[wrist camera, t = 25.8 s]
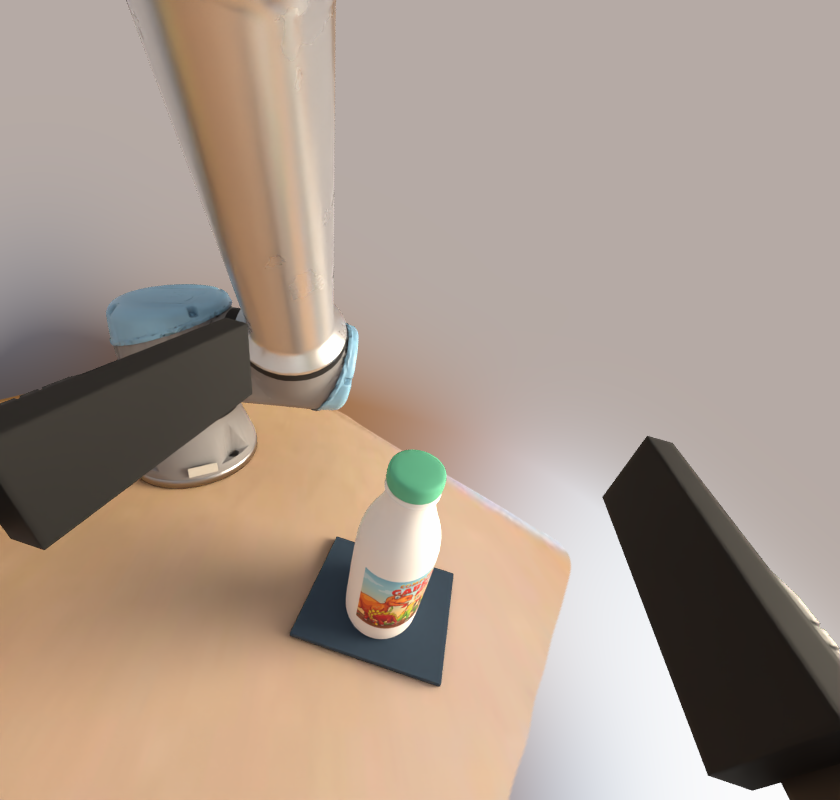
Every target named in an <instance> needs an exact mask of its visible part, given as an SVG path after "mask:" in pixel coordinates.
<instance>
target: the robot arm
mask: <svg viewBox="0 0 840 800" xmlns="http://www.w3.org/2000/svg"><path fill="white" fill-rule="evenodd" d="M126 1H127V4H128V7H129V9H130V12H131V15H132V17H133V20H134V23H135V25H136V28H137V31H138V33H139V36H140V39H141V42H142V44H143V47H144V50H145V52H146V55H147V58H148V60H149V63H150V66H151V68H152V71H153V73H154V76H155V79H156V82H157V84H158V87H159V90H160V93H161V95H162V98H163V101H164V103H165V105H166V109H167V111H168V114H169V117H170V119H171V122H172V124H173V127H174V130H175V133H176V136H177V138H178V141H179V144H180V146H181V149H182V151H183V154H184V157H185V160H186V162H187V165H188V168H189V170H190V173H191V176H192V178H193V181H194V184H195V187H196V189H197V192H198V195H199V197H200V200H201V203H202V205H203V208H204V211H205V213H206V216H207V219H208V221H209V224H210V227H211V230H212V232H213V235H214V238H215V240H216V243H217V246H218V248H219V251H220V253H221V256H222V259H223V262H224V264H225V267H226V269H227V272H228V275H229V278H230V281H231V283H232V286H233V288H234V291H235V294H236V297H237V299H238V302H239V305H240V307H241V309H240V308H234V307H232V306H231V305H232V300H231V299H230V297H229V295H228V293H226V292H225V291H224V290H222V289H218V288H216V287H212V286H206V285H195V284H194V285H193V284H181V285H180V284H179V285H164V286H155V287H148V288H143V289H139V290H135V291H131V292H128V293H125V294H123V295H121V296H119V297H117V298H115V299H114V300H113V301H112V302H111V303H110V304H109V306H108V308H107V311H106V316H107V322H108V327H109V332H110V343H111V344H112V345H113V346H114V349H115V353H116V355H117V359H118V360H116V361H114V362H111V363H108V364H106V365H104V366H101V367H98V368H96V369H93V370H91V371H88V372H86V373H83V374H80V375H76V376H71V377H68V378H65V379H63V380H60V381H57V382H55V383H52V384H49V385H47V386H44V387H42V390H38V389H37V390H34V391H31V392H29V393H26V394H24V395H21V396H20V398H19V399H15V398H13V399H11V400H8V401H5V402H3V403H0V525H1V526H2V527H3V529H4V530H5V531H6V533H7V534H8V536H9V537H10V538H11V539H13V540H16V541H19V542H22V543H25V544H28V545H31V546H34V547H37V548H40V549H43V550H45V549H47V548H48V547H49V546H51V545H52V544H53V543H55V542H56V541H57V540H59V539H60V538H61V537H63V536H64V535H65V534H67V533H68V532H69V531H71V530H72V529H73V528H75V527H76V526H77V525H79V524H80V523H81V522H83V521H84V520H85V519H87V518H88V517H89V516H91V515H92V514H93V513H95V512H96V511H97V510H99V509H100V508H101V507H103V506H104V505H105V504H107V503H108V502H109V501H111V500H112V499H113V498H115V497H116V496H117V495H118V494H120V493H121V492H122V491H124V490H125V489H126V488H128V487H129V486H130V485H132V484H133V483H134V482H136V481H137V480H138V479H142V480H143V481H145V482H147V483H149V484H152V485H155V486H159V487H165V488H192V487H198V486H203V485H207V484H211V483H214V482H217V481H219V480H222V479H224V478H226V477H228V476H230V475H232V474H234V473H236V472H237V471H238V470H240V469H241V468H243V467H244V466H245V465H246V464H247V463H248V462H249V461H250V460H251V458H252V457H253V455H254V453H255V451H256V448H257V436H256V431H255V428H254V425H253V423H252V422H251V420H250V418H249V416H248V415H247V413H246V411H245V409H244V407H243V406H242V404H241V402H245V403H256V404H266V405H276V406H286V407H297V408H307V409H312V410H314V411H319V410H337V409H339V408H341V407H342V406H343V405H344V404H345V402H346V400H347V398H348V394H349V392H350V388H351V382H352V378H353V374H354V370H355V364H356V358H357V350H358V331H357V329H356V328H355V327H354V326H351V325H349V324H348V323H345V319H344V317H343V315H342V313H341V312H340V310H339V309H338V307H337V306H336V305H335V304H334V303H333V292H334V291H333V290H334V288H333V287H334V149H335V148H334V146H335V145H334V144H335V143H334V141H335V139H334V138H335V4H336V0H126ZM603 499H604V502H605V504H606V507H607V510H608V513H609V515H610V518H611V521H612V523H613V526H614V528H615V531H616V534H617V536H618V539H619V542H620V544H621V547H622V549H623V552H624V555H625V558H626V560H627V563H628V566H629V568H630V570H631V573H632V576H633V579H634V581H635V584H636V587H637V589H638V592H639V595H640V597H641V600H642V602H643V605H644V608H645V610H646V613H647V616H648V618H649V621H650V624H651V626H652V628H653V631H654V634H655V637H656V639H657V642H658V645H659V647H660V650H661V653H662V655H663V658H664V660H665V663H666V666H667V668H668V671H669V674H670V676H671V679H672V681H673V684H674V687H675V690H676V692H677V695H678V697H679V700H680V703H681V705H682V708H683V710H684V713H685V716H686V719H687V721H688V724H689V726H690V729H691V732H692V734H693V737H694V740H695V742H696V745H697V748H698V750H699V753H700V755H701V758H702V761H703V763H704V766H705V768H706V771H707V774H708V776H711V777H714V778H717V779H720V780H723V781H726V782H729V783H732V784H735V785H738V786H741V787H743V788H746V789H749V790H756V789H760V788H763V787H767V786H770V785H773V784H777V783H782V785H783V787H784V789H785V791H786V793H787V795H788V797H789V799H790V800H840V652H839V647H838V645H837V644H836V643H835V642H834V640H833V639H832V638H831V637H830V635H829V634H828V633H827V632H826V630H825V629H821V628H820V623H819V622H818V620H817V619H816V618H815V616H814V615H813V614H812V613H811V611H810V610H809V609H808V608H807V606H806V605H805V604H804V603H803V601H802V600H801V599H800V597H799V596H798V595H797V594H796V593H794V591H792V590H791V589H790V588H789V587H788V586H787V585H786V584H785V583H784V582H783V581H782V580H781V579H780V578H779V577H777V576H776V575H775V574H774V573H773V572H772V571H771V570H770V569H769V567H768V566H767V565H766V564H765V562H764V561H763V560H762V558H761V557H760V556H759V555H758V553H757V552H756V551H755V549H754V548H753V547H752V545H751V544H750V543H749V542H748V540H747V539H746V538H745V536H744V535H743V534H742V532H741V531H740V530H739V529H738V527H737V526H736V525H735V523H734V522H733V521H732V520H731V518H730V517H729V516H728V514H727V513H726V512H725V510H724V509H723V508H722V507H721V505H720V504H719V503H718V501H717V500H716V499H715V498H714V496H713V495H712V494H711V492H710V491H709V490H708V488H707V487H706V486H705V484H704V483H703V482H702V481H701V479H700V478H699V477H698V475H697V474H696V473H695V472H694V470H693V469H692V468H691V466H690V465H689V464H688V463H687V461H686V460H685V459H684V457H683V456H682V455H681V453H680V452H679V451H678V449H677V448H676V447H675V446H674V444H673V443H670V442H667V441H663V440H660V439H656V438H653V437H649V436H647V437H646V438H645V440H644V441H643V442H642V444H641V445H640V447H639V448H638V449H637V451H636V452H635V453H634V455H633V456H632V457H631V459H630V460H629V462H628V463H627V464H626V466H625V467H624V468H623V470H622V471H621V472H620V474H619V475H618V477H617V478H616V479H615V481H614V482H613V483H612V485H611V486H610V488H609V489H608V490H607V492H606V493H605V494H604V496H603Z"/></svg>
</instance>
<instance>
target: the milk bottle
mask: <svg viewBox="0 0 840 800" xmlns="http://www.w3.org/2000/svg"><path fill="white" fill-rule="evenodd" d="M445 483H446V470H445V468H444V466H443V464H442V463H441V462H440V461H439V460H438V459H437V458H436V457H434V456H433V455H431V454H429V453H427V452H424V451H420V450H405V451H401V452H399V453H397V454H396V455H395V456H394V457H393V458H392V459H391V461H390V463H389V465H388V469H387V474H386V479H385V491H384V492H383V493H382V494H381V495H380V496H379V497H378V498H377V499H376V500H375V501H374V502H373V503H372V504H371V505H370V506H369V508H368V509H367V510H366V512H365V514H364V516H363V518H362V520H361V522H360V525H359V528H358V532H357V536H356V540H355V545H354V550H353V556H352V561H351V567H350V573H349V579H348V585H347V592H346V609H347V613H348V616H349V618H350V620H351V622H352V623H353V625H354V626H355V627H356V628H357V629H358V630H359V631H360V632H361V633H363V634H364V635H366V636H368V637H371V638H375V639H388V638H392V637H394V636H397V635H398V634H400V633H402V632H403V631H404V630H405V629H406V628H407V627H408V626H409V625H410V623H411V622H412V620H413V618H414V616H415V614H416V611H417V609H418V607H419V604H420V602H421V599H422V597H423V594H424V592H425V589H426V587H427V584H428V582H429V579H430V576H431V574H432V571H433V569H434V566H435V563H436V560H437V556H438V553H439V549H440V543H441V526H440V521H439V517H438V514H437V510H436V503H437V502H438V501H439V499H440V497H441V493H442V491H443V489H444V486H445Z"/></svg>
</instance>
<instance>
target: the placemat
mask: <svg viewBox="0 0 840 800" xmlns="http://www.w3.org/2000/svg"><path fill="white" fill-rule="evenodd" d="M354 545H355V542H352V541H349V540H346V539H343V538H340V537H336V539H335V541H334V543H333V545H332V548H331V550H330V552H329V554H328V556H327V558H326V560H325V562H324V564H323V566H322V568H321V570H320V572H319V574H318V576H317V578H316V580H315V582H314V585H313V587H312V589H311V591H310V593H309V595H308V597H307V599H306V601H305V603H304V605H303V607H302V609H301V611H300V613H299V615H298V617H297V620H296V622H295V624H294V626H293V628H292V630H291V632H290V636H292V637H295V638H298V639H301V640H303V641H306V642H309V643H312V644H315V645H318V646H321V647H324V648H327V649H330V650H333V651H336V652H339V653H342V654H345V655H348V656H351V657H353V658H356V659H359V660H362V661H365V662H368V663H371V664H374V665H377V666H380V667H383V668H386V669H389V670H392V671H395V672H398V673H400V674H403V675H406V676H409V677H412V678H415V679H418V680H421V681H424V682H427V683H430V684H433V685H436V686H440V685H441V679H442V670H443V661H444V653H445V644H446V635H447V626H448V617H449V608H450V600H451V591H452V582H453V573H450V572H447V571H443V570H440V569H437V568H434V569H433V571H432V574H431V576H430V579H429V582H428V584H427V587H426V589H425V592H424V594H423V597H422V599H421V602H420V604H419V607H418V609H417V611H416V614H415V616H414V618H413V620H412V622H411V623H410V625H409V626H408V627H407V628H406V629H405V630H404V631H403V632H402V633H400V634H398V635H397V636H394V637H392V638H388V639H375V638H371V637H368V636H366V635H364V634H363V633H361V632H360V631H359V630H358V629H357V628H356V627H355V626H354V625H353V623H352V622H351V620H350V618H349V616H348V613H347V609H346V592H347V585H348V579H349V573H350V567H351V561H352V556H353V550H354Z"/></svg>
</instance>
